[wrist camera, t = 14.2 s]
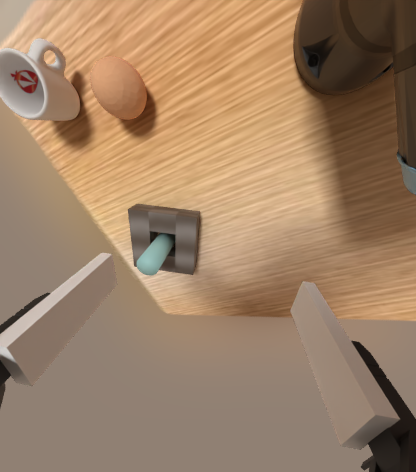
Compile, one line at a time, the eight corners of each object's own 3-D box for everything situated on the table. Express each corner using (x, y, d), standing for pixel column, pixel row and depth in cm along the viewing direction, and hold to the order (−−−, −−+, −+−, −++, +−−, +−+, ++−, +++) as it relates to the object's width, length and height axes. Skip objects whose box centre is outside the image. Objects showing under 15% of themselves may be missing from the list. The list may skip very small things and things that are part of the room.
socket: (137, 203, 39) (127, 209, 36) (200, 211, 38) (196, 217, 35) (141, 257, 46) (134, 266, 42) (196, 264, 45) (193, 274, 41)
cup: (54, 39, 29) (-5, 2, 22) (99, 76, 30) (58, 53, 23) (39, 105, 33) (-13, 93, 26) (79, 135, 35) (40, 131, 27)
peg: (160, 227, 41) (135, 254, 31) (177, 229, 41) (158, 258, 30) (160, 242, 43) (137, 273, 32) (176, 244, 43) (159, 276, 32)
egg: (114, 62, 29) (73, 31, 21) (157, 79, 29) (132, 54, 22) (111, 114, 32) (74, 103, 25) (150, 128, 33) (125, 122, 25)
